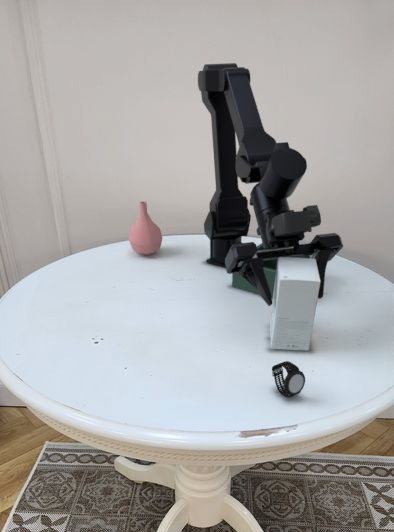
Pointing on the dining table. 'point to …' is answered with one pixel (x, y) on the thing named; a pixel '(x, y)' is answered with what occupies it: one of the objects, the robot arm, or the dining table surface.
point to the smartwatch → (288, 379)
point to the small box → (294, 303)
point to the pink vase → (145, 233)
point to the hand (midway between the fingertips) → (295, 301)
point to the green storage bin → (269, 272)
